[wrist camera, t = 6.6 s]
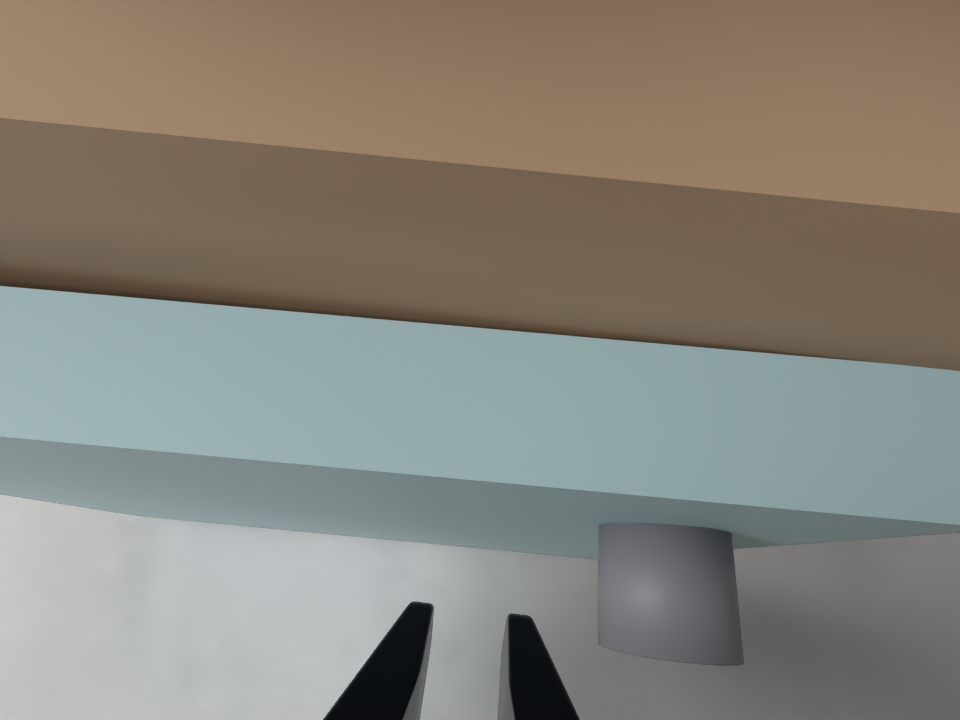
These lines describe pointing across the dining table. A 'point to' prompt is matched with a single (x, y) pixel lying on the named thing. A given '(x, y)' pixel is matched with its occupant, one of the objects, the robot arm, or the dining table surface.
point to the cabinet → (500, 164)
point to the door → (478, 443)
